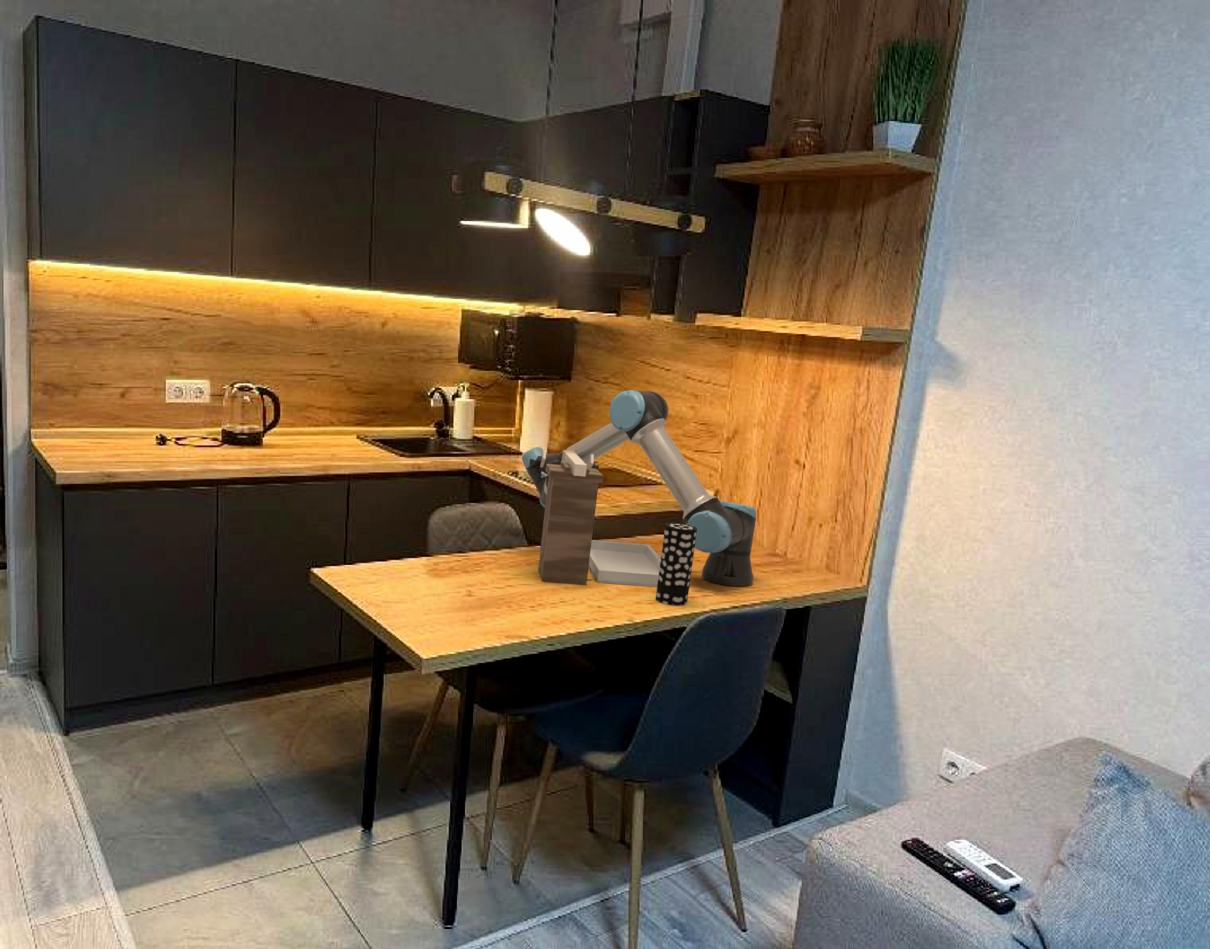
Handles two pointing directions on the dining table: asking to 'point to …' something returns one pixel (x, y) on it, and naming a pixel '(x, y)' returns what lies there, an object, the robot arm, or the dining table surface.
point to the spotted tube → (676, 564)
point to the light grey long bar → (574, 463)
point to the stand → (568, 524)
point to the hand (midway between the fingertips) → (568, 456)
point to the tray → (624, 563)
